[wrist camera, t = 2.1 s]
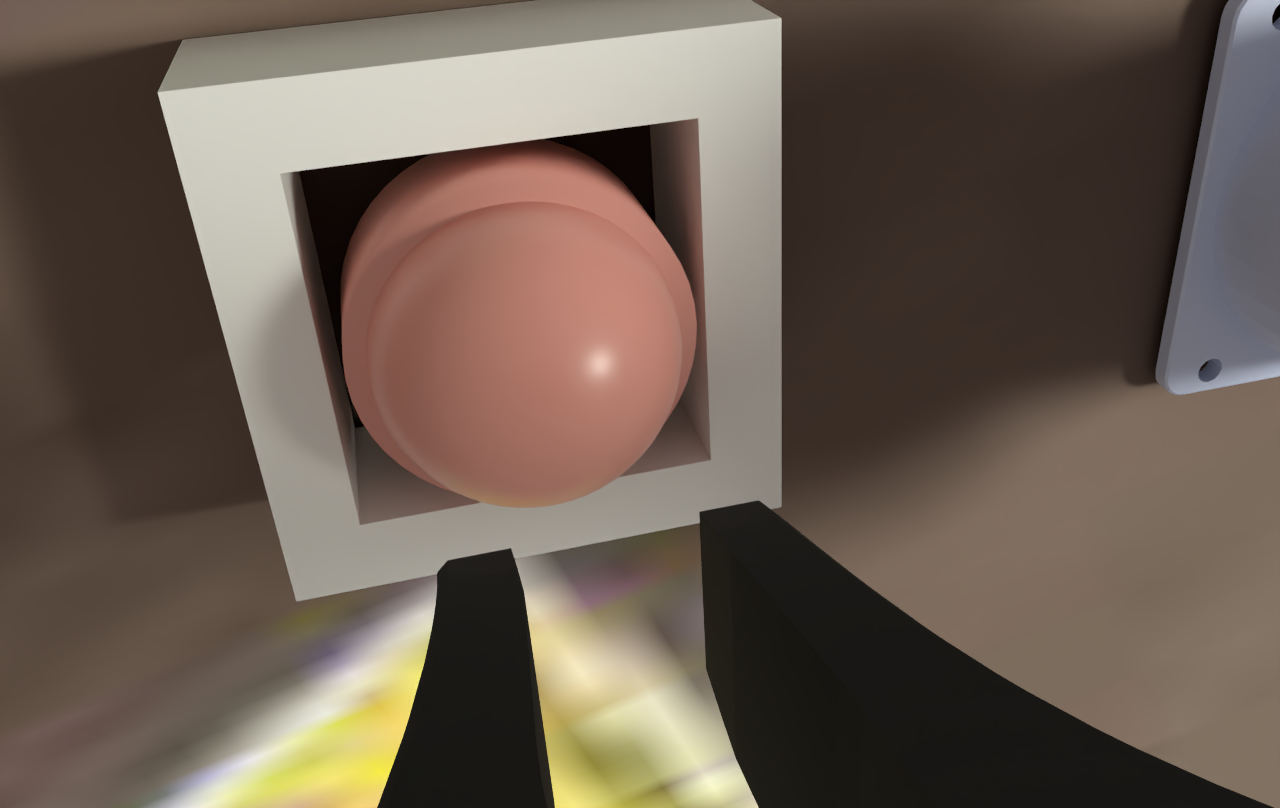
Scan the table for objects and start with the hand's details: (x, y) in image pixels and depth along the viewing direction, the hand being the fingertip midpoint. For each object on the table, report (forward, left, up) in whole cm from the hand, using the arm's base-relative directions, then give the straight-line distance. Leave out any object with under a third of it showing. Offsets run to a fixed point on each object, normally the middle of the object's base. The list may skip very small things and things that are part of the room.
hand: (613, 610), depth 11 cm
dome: (0, 0, -8) cm, 8 cm away
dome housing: (0, 0, -9) cm, 9 cm away
